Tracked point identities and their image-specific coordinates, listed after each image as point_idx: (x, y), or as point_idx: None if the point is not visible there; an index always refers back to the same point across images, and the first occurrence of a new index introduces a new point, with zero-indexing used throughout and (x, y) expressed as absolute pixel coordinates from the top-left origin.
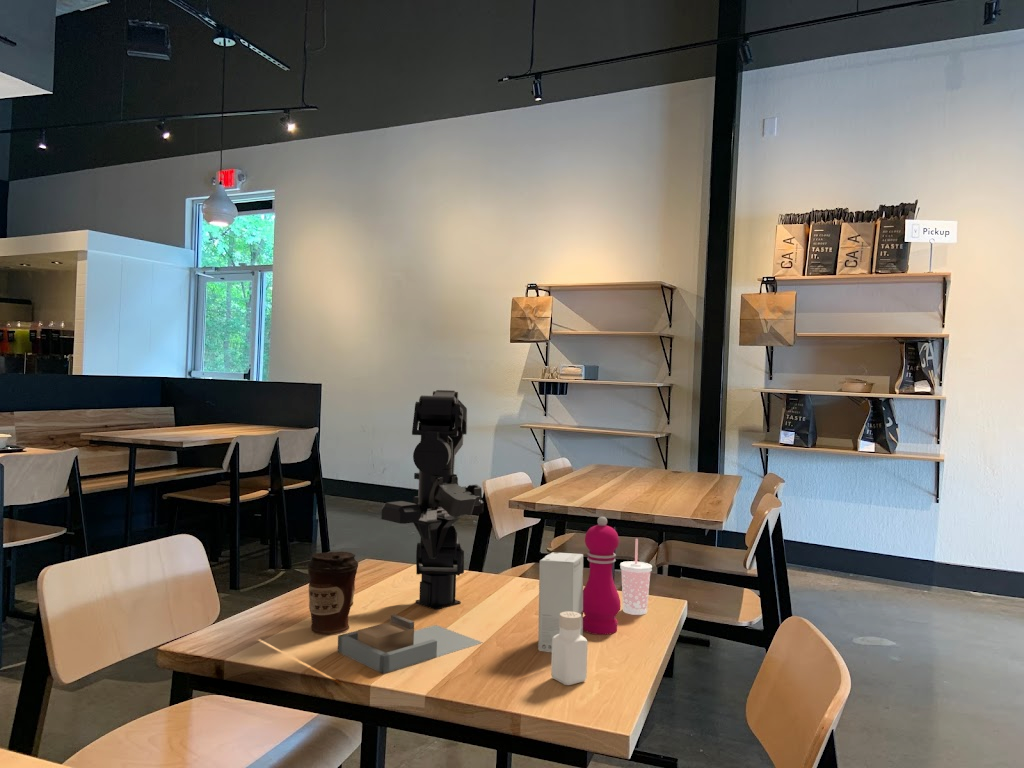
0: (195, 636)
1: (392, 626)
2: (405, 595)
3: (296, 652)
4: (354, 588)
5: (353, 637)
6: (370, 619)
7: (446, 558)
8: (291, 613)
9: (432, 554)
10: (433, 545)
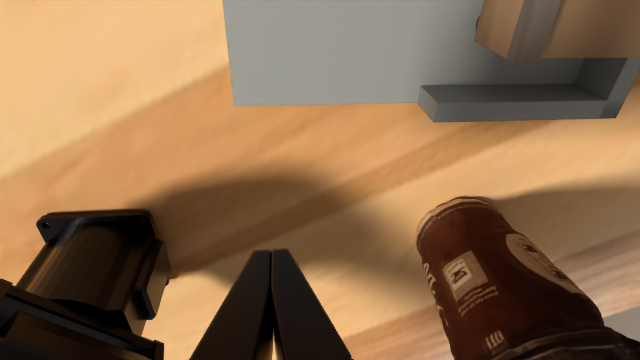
0: (606, 313)
1: (569, 4)
2: (156, 330)
3: (609, 163)
4: (459, 296)
5: (578, 96)
6: (338, 244)
7: (42, 348)
8: (425, 335)
9: (298, 268)
10: (314, 320)
